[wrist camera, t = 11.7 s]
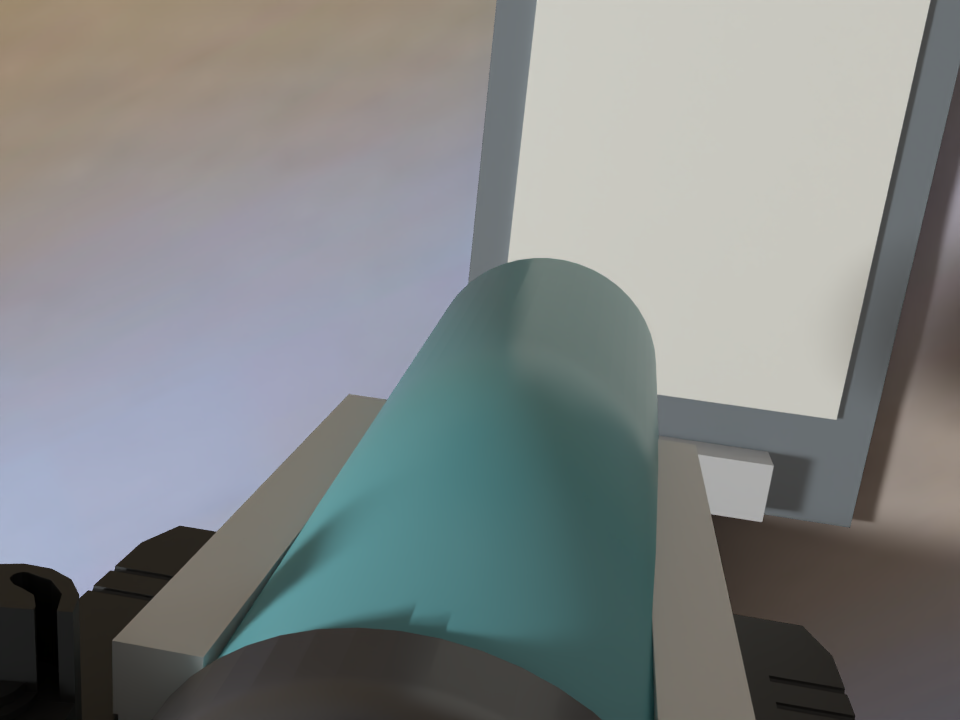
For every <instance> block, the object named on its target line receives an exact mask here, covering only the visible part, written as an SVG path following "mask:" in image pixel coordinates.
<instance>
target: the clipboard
mask: <svg viewBox="0 0 960 720" xmlns="http://www.w3.org/2000/svg"><path fill="white" fill-rule="evenodd" d="M959 65H960V0H497V3H496V13H495V23H494V33H493V43H492V53H491V63H490V73H489V83H488V93H487V103H486V113H485V123H484V133H483V143H482V153H481V163H480V173H479V183H478V193H477V203H476V213H475V223H474V233H473V242H472V252H471V262H470V272H469V282H468V284H469V283H470V282H472V281H473V280H474V279H476V278H477V277H478V276H480V275H481V274H483V273H485V272H487V271H488V270H490V269H492V268H495V267H497V266H500V265H502V264H505V263H509V262H512V261H516V260H521V259H530V258H552V259H560V260H566V261H570V262H573V263H577V264H580V265H583V266H585V267H587V268H590V269H592V270H594V271H596V272H598V273H600V274H601V275H603V276H605V277H607V278H608V279H609V280H611V281H612V282H613V283H615V284H616V285H617V286H618V287H620V288H621V289H622V290H623V291H624V292H625V293H626V294H627V295H628V296H629V297H630V299H631V300H632V301H633V303H634V304H635V305H636V306H637V308H638V309H639V311H640V313H641V314H642V316H643V318H644V319H645V321H646V324H647V326H648V329H649V331H650V333H651V337H652V341H653V344H654V349H655V358H656V377H657V405H658V433H659V439H660V440H667V441H674V442H680V443H687V444H694V445H696V448H697V453H698V457H699V462H700V466H701V471H702V476H703V480H704V485H705V489H706V494H707V499H708V503H709V508H710V512H711V514H713V515H719V516H726V517H732V518H739V519H745V520H751V521H758V522H762V521H763V516H764V514H765V515H772V516H778V517H785V518H791V519H798V520H804V521H810V522H817V523H823V524H830V525H836V526H843V527H849V528H850V525H851V521H852V517H853V513H854V508H855V504H856V500H857V496H858V491H859V487H860V483H861V479H862V475H863V470H864V466H865V462H866V458H867V453H868V449H869V445H870V441H871V437H872V432H873V428H874V424H875V420H876V415H877V411H878V407H879V403H880V399H881V394H882V390H883V386H884V382H885V378H886V373H887V369H888V365H889V361H890V356H891V352H892V348H893V344H894V340H895V335H896V331H897V327H898V323H899V318H900V314H901V310H902V306H903V302H904V297H905V293H906V289H907V285H908V280H909V276H910V272H911V268H912V264H913V259H914V255H915V251H916V247H917V242H918V238H919V234H920V230H921V226H922V221H923V217H924V213H925V209H926V204H927V200H928V196H929V192H930V188H931V183H932V179H933V175H934V171H935V166H936V162H937V158H938V154H939V150H940V145H941V141H942V137H943V133H944V128H945V124H946V120H947V116H948V112H949V107H950V103H951V99H952V95H953V91H954V86H955V82H956V78H957V74H958V69H959Z"/></svg>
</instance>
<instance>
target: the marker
mask: <svg viewBox="0 0 960 720" xmlns="http://www.w3.org/2000/svg"><path fill="white" fill-rule="evenodd" d="M658 439H659V433H658V405H657V377H656V358H655V349H654V344H653V341H652V337H651V333H650V331H649V329H648V326H647V324H646V321H645V319H644V318H643V316H642V314H641V313H640V311H639V309H638V308H637V306H636V305H635V304H634V303H633V301H632V300H631V299H630V297H629V296H628V295H627V294H626V293H625V292H624V291H623V290H622V289H621V288H620V287H618V286H617V285H616V284H615V283H613V282H612V281H611V280H609V279H608V278H607V277H605V276H603V275H601V274H600V273H598V272H596V271H594V270H592V269H590V268H587V267H585V266H583V265H580V264H577V263H573V262H570V261H566V260H560V259H552V258H530V259H521V260H516V261H512V262H509V263H505V264H502V265H500V266H497V267H495V268H492V269H490V270H488V271H487V272H485V273H483V274H481V275H480V276H478V277H477V278H476V279H474V280H473V281H472V282H470V283H469V284H468V285H467V286H466V287H465V288H464V289H463V290H462V291H461V292H460V293H459V294H458V295H457V296H456V297H455V299H454V300H453V302H452V303H451V304H450V306H449V307H448V309H447V310H446V312H445V313H444V315H443V316H442V318H441V319H440V321H439V322H438V324H437V325H436V327H435V328H434V330H433V331H432V333H431V334H430V336H429V337H428V339H427V340H426V342H425V343H424V345H423V346H422V348H421V349H420V351H419V352H418V354H417V356H416V357H415V359H414V360H413V362H412V363H411V365H410V366H409V368H408V369H407V371H406V372H405V374H404V375H403V377H402V378H401V380H400V381H399V383H398V384H397V386H396V387H395V389H394V390H393V392H392V393H391V395H390V396H389V398H388V399H387V401H386V402H385V404H384V406H383V407H382V409H381V410H380V412H379V413H378V415H377V416H376V418H375V419H374V421H373V422H372V424H371V425H370V427H369V428H368V430H367V431H366V433H365V434H364V436H363V437H362V439H361V440H360V442H359V443H358V445H357V446H356V448H355V449H354V451H353V452H352V454H351V456H350V457H349V459H348V460H347V462H346V463H345V465H344V466H343V468H342V469H341V471H340V472H339V474H338V475H337V477H336V478H335V480H334V481H333V483H332V484H331V486H330V487H329V489H328V490H327V492H326V493H325V495H324V496H323V498H322V499H321V501H320V502H319V504H318V506H317V507H316V509H315V510H314V512H313V513H312V515H311V516H310V518H309V519H308V521H307V522H306V524H305V526H304V527H303V529H302V530H301V532H300V533H299V535H298V536H297V538H296V539H295V541H294V542H293V544H292V545H291V547H290V548H289V550H288V551H287V553H286V554H285V556H284V557H283V559H282V560H281V562H280V564H279V565H278V567H277V568H276V570H275V571H274V573H273V574H272V576H271V577H270V579H269V580H268V582H267V583H266V585H265V586H264V588H263V589H262V591H261V592H260V594H259V595H258V597H257V598H256V600H255V602H254V603H253V605H252V606H251V608H250V609H249V611H248V612H247V614H246V615H245V617H244V618H243V620H242V621H241V623H240V624H239V626H238V627H237V629H236V630H235V632H234V633H233V635H232V637H231V638H230V640H229V641H228V643H227V644H226V646H225V647H224V649H223V650H222V652H221V653H220V655H219V656H218V658H217V659H216V660H215V661H213V662H212V663H210V664H209V665H207V666H206V667H204V668H203V669H201V670H200V671H198V672H197V673H195V674H194V675H192V676H191V677H189V678H188V679H187V680H186V681H185V682H184V683H183V684H182V685H181V686H180V687H179V688H178V689H177V690H176V691H174V692H173V693H172V694H171V695H170V696H169V697H168V698H167V700H166V701H165V702H164V704H163V705H162V706H161V708H160V709H159V710H158V712H157V713H156V714H155V716H154V717H153V718H152V720H654V683H653V637H652V608H653V591H654V575H655V559H656V530H657V492H658Z"/></svg>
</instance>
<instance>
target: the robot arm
mask: <svg viewBox="0 0 960 720" xmlns="http://www.w3.org/2000/svg"><path fill="white" fill-rule="evenodd" d="M386 401H387V400H385V399H378V398H371V397H364V396H357V395H351V394H349V395H348V396H347V397H346V398H345V399H344V400H343V401H342V402H341V403H340V404H339V405H338V406H337V407H336V408H335V409H334V410H333V411H332V412H331V413H330V414H329V416H328V417H327V418H326V419H325V420H324V421H323V422H322V423H321V424H320V425H319V426H318V427H317V428H316V429H315V430H314V431H313V432H312V433H311V434H310V435H309V436H308V437H307V438H306V439H305V440H304V442H303V443H302V444H301V445H300V446H299V447H298V448H297V449H296V450H295V451H294V452H293V453H292V454H291V455H290V456H289V457H288V458H287V459H286V460H285V461H284V462H283V463H282V464H281V465H280V466H279V468H278V469H277V470H276V471H275V472H274V473H273V474H272V475H271V476H270V477H269V478H268V479H267V480H266V481H265V482H264V483H263V484H262V485H261V486H260V487H259V488H258V489H257V490H256V491H255V493H254V494H253V495H252V496H251V497H250V498H249V499H248V500H247V501H246V502H245V503H244V504H243V505H242V506H241V507H240V508H239V509H238V510H237V511H236V512H235V513H234V514H233V515H232V516H231V517H230V519H229V520H228V521H227V522H226V523H225V524H224V525H223V526H222V527H221V528H220V529H219V530H218V531H217V532H214V531H208V530H202V529H196V528H190V527H184V526H178V527H176V528H174V529H171V530H169V531H167V532H164V533H162V534H160V535H158V536H155V537H153V538H151V539H149V540H146V541H144V542H142V543H140V544H139V545H138V546H137V547H136V548H135V549H134V550H133V551H132V552H130V553H129V554H128V555H127V556H126V557H125V558H124V559H123V560H122V561H120V562H119V563H118V564H117V565H116V566H115V570H114V571H109V572H108V573H107V574H106V575H105V576H104V577H103V578H101V579H100V580H99V581H98V582H97V583H96V584H95V585H94V588H93V591H89V590H88V591H87V592H86V593H85V594H84V595H83V596H81V597H80V598H79V594H78V592H77V590H76V588H75V586H74V584H73V582H72V580H71V579H69V578H68V577H66V576H64V575H62V574H60V573H59V572H57V571H55V570H53V569H50V568H44V567H39V566H34V565H28V564H0V720H152V718H153V717H154V716H155V714H156V713H157V712H158V710H159V709H160V708H161V706H162V705H163V704H164V702H165V701H166V700H167V698H168V697H169V696H170V695H171V694H172V693H173V692H174V691H176V690H177V689H178V688H179V687H180V686H181V685H182V684H183V683H184V682H185V681H186V680H187V679H188V678H189V677H191V676H192V675H194V674H195V673H197V672H198V671H200V670H201V669H203V668H204V667H206V666H207V665H209V664H210V663H212V662H213V661H215V660H216V659H217V658H218V656H219V655H220V653H221V652H222V650H223V649H224V647H225V646H226V644H227V643H228V641H229V640H230V638H231V637H232V635H233V633H234V632H235V630H236V629H237V627H238V626H239V624H240V623H241V621H242V620H243V618H244V617H245V615H246V614H247V612H248V611H249V609H250V608H251V606H252V605H253V603H254V602H255V600H256V598H257V597H258V595H259V594H260V592H261V591H262V589H263V588H264V586H265V585H266V583H267V582H268V580H269V579H270V577H271V576H272V574H273V573H274V571H275V570H276V568H277V567H278V565H279V564H280V562H281V560H282V559H283V557H284V556H285V554H286V553H287V551H288V550H289V548H290V547H291V545H292V544H293V542H294V541H295V539H296V538H297V536H298V535H299V533H300V532H301V530H302V529H303V527H304V526H305V524H306V522H307V521H308V519H309V518H310V516H311V515H312V513H313V512H314V510H315V509H316V507H317V506H318V504H319V502H320V501H321V499H322V498H323V496H324V495H325V493H326V492H327V490H328V489H329V487H330V486H331V484H332V483H333V481H334V480H335V478H336V477H337V475H338V474H339V472H340V471H341V469H342V468H343V466H344V465H345V463H346V462H347V460H348V459H349V457H350V456H351V454H352V452H353V451H354V449H355V448H356V446H357V445H358V443H359V442H360V440H361V439H362V437H363V436H364V434H365V433H366V431H367V430H368V428H369V427H370V425H371V424H372V422H373V421H374V419H375V418H376V416H377V415H378V413H379V412H380V410H381V409H382V407H383V406H384V404H385V402H386ZM652 637H653V683H654V720H855V714H854V712H853V709H852V706H851V704H850V701H849V698H848V696H847V695H845V694H844V690H845V688H844V685H843V683H842V680H841V678H840V675H839V672H838V670H837V667H836V665H835V662H834V659H833V657H832V655H831V654H830V653H829V652H828V651H827V650H826V649H825V648H824V647H823V646H822V645H821V644H820V643H819V642H818V641H817V640H816V639H815V638H814V637H813V636H812V635H811V634H810V633H809V632H808V631H807V630H806V629H805V628H804V627H803V626H800V625H794V624H788V623H782V622H776V621H770V620H764V619H758V618H752V617H746V616H740V615H734V614H733V613H732V609H731V604H730V600H729V595H728V590H727V586H726V581H725V577H724V572H723V568H722V563H721V558H720V554H719V549H718V545H717V540H716V535H715V531H714V526H713V522H712V517H711V512H710V508H709V503H708V499H707V494H706V489H705V485H704V480H703V476H702V471H701V466H700V462H699V457H698V453H697V448H696V445H694V444H687V443H680V442H674V441H667V440H660V439H658V492H657V530H656V559H655V575H654V591H653V608H652Z"/></svg>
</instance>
